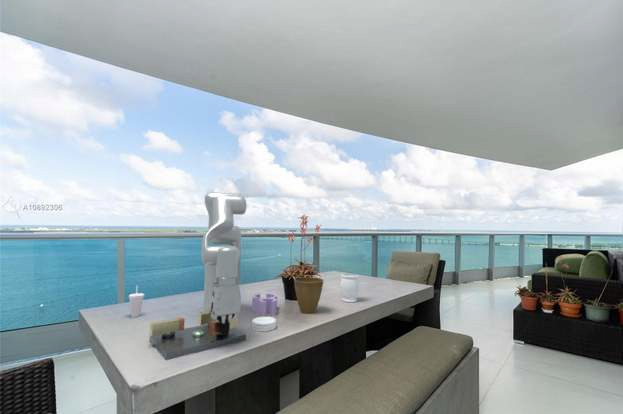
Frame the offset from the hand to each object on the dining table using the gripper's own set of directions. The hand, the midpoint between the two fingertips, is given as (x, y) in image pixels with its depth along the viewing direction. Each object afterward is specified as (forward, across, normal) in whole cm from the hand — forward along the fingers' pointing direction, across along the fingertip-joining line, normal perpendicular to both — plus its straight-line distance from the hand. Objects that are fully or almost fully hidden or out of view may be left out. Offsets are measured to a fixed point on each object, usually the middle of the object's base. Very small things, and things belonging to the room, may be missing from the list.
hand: (224, 333), depth 112 cm
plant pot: (+3, +52, +14) cm, 54 cm away
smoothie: (+3, -16, +56) cm, 58 cm away
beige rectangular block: (+1, +3, +16) cm, 16 cm away
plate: (+4, -6, +9) cm, 11 cm away
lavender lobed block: (+4, +36, +28) cm, 46 cm away
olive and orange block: (+1, -15, +14) cm, 21 cm away
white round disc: (+4, +21, +6) cm, 22 cm away
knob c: (+1, +1, +4) cm, 4 cm away
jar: (+3, +86, +17) cm, 88 cm away
